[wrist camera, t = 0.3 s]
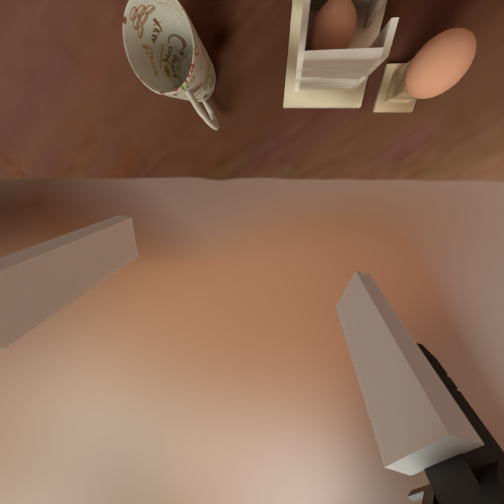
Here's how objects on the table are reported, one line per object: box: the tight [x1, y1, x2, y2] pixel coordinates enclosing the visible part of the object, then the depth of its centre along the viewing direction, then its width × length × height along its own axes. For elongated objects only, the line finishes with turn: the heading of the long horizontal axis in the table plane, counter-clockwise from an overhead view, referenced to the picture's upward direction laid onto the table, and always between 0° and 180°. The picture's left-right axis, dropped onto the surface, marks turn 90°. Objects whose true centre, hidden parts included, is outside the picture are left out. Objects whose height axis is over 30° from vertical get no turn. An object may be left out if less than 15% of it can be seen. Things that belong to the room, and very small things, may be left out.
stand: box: [373, 59, 417, 112], centre depth 23 cm, size 5×5×5 cm
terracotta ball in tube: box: [310, 0, 357, 50], centre depth 22 cm, size 5×5×5 cm
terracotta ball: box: [405, 28, 476, 99], centre depth 19 cm, size 5×5×5 cm
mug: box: [123, 0, 219, 130], centre depth 25 cm, size 8×13×10 cm, turn 32°
